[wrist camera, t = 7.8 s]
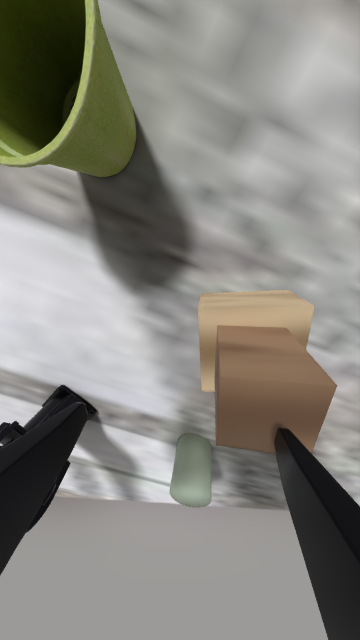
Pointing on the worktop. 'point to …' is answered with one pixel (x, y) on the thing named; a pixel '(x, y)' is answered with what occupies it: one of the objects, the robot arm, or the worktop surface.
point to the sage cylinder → (192, 471)
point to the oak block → (248, 320)
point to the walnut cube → (267, 388)
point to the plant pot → (61, 89)
